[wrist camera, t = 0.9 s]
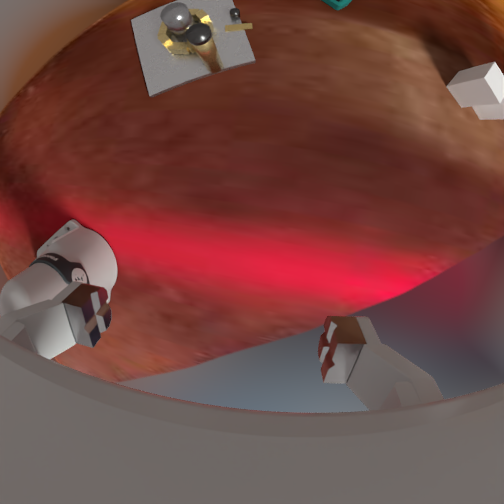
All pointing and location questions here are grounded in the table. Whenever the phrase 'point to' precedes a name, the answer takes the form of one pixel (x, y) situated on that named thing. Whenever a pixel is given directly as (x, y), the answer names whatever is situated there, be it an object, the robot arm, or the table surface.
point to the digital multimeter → (337, 3)
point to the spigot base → (184, 63)
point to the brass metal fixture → (195, 41)
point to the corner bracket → (480, 90)
